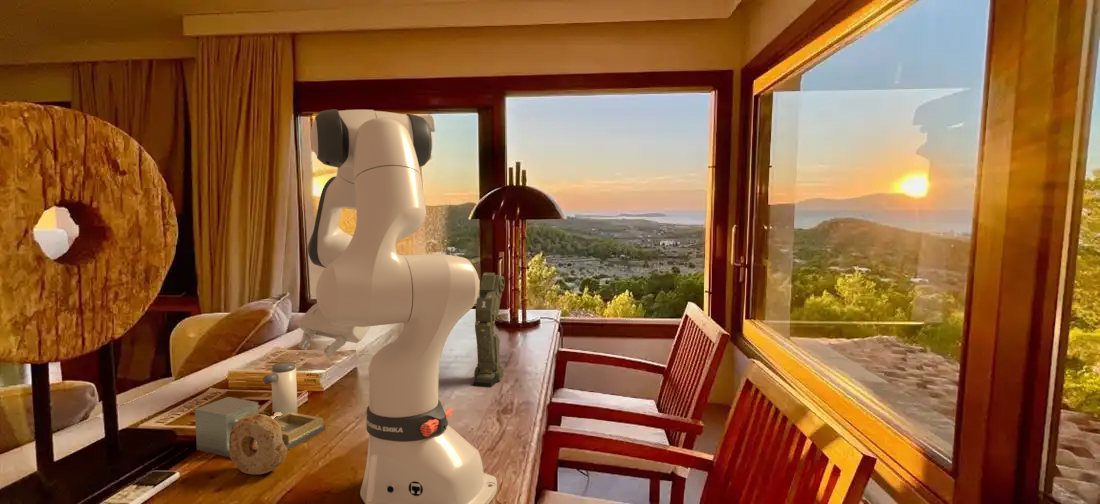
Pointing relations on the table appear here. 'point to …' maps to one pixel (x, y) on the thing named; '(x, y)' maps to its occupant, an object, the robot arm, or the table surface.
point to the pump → (283, 387)
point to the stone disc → (246, 450)
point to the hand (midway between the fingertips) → (314, 351)
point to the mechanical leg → (488, 331)
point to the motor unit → (226, 412)
